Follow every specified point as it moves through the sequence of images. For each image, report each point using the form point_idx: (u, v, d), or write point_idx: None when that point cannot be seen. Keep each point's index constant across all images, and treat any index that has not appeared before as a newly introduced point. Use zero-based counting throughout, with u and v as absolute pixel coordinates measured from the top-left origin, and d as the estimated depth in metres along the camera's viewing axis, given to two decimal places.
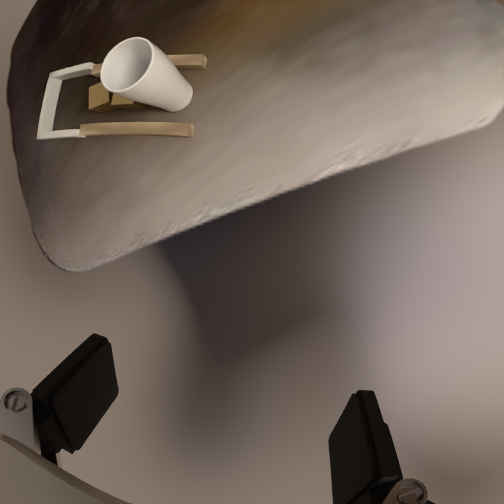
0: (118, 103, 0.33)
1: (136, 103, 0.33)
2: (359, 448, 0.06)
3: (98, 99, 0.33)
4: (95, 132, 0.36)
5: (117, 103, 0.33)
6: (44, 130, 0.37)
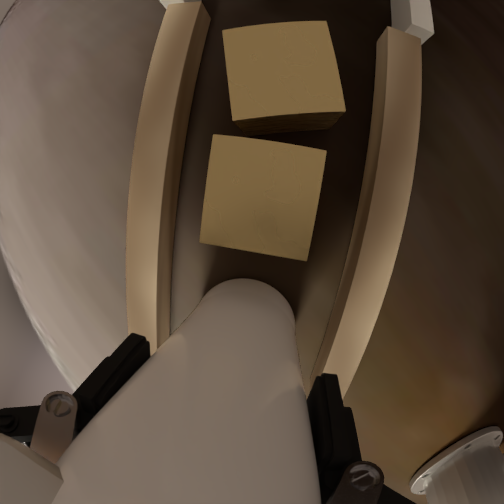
0: (211, 171, 0.10)
1: None
2: (317, 428, 0.07)
3: (255, 67, 0.08)
4: (155, 64, 0.10)
5: (212, 167, 0.10)
6: None
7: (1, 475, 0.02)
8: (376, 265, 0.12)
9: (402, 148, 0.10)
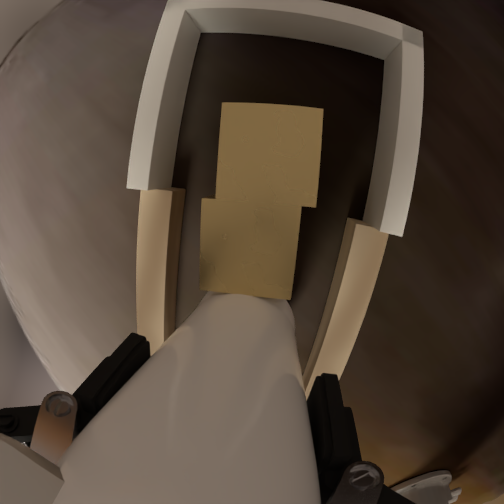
0: (204, 231, 0.12)
1: None
2: (317, 428, 0.07)
3: (244, 150, 0.10)
4: (141, 259, 0.14)
5: (204, 227, 0.11)
6: (197, 16, 0.10)
7: (1, 475, 0.02)
8: None
9: (342, 340, 0.14)
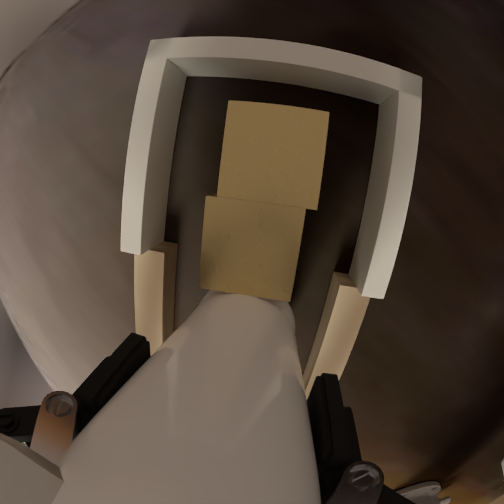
0: (206, 229, 0.11)
1: None
2: (317, 428, 0.07)
3: (248, 149, 0.10)
4: (139, 311, 0.15)
5: (207, 225, 0.11)
6: (180, 63, 0.11)
7: (1, 475, 0.02)
8: None
9: None
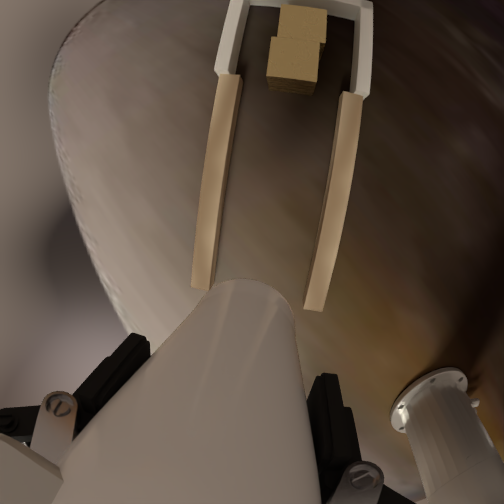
0: (271, 49, 0.18)
1: (269, 80, 0.20)
2: (317, 428, 0.07)
3: (291, 20, 0.17)
4: (215, 113, 0.22)
5: (271, 47, 0.18)
6: None
7: (1, 475, 0.02)
8: (333, 222, 0.23)
9: (346, 161, 0.22)
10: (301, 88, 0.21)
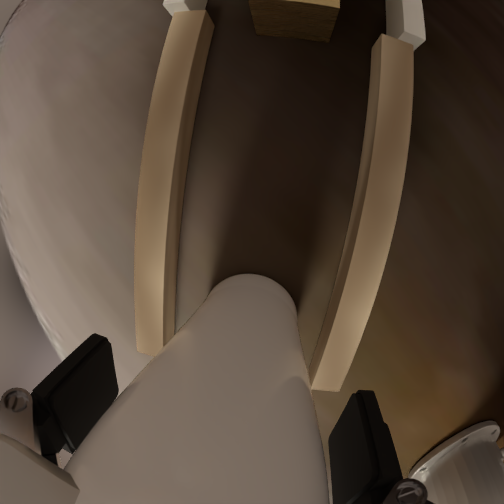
0: None
1: (255, 9, 0.09)
2: (359, 448, 0.06)
3: None
4: (162, 70, 0.11)
5: None
6: None
7: (1, 475, 0.02)
8: (370, 258, 0.13)
9: (394, 149, 0.11)
10: (311, 26, 0.10)
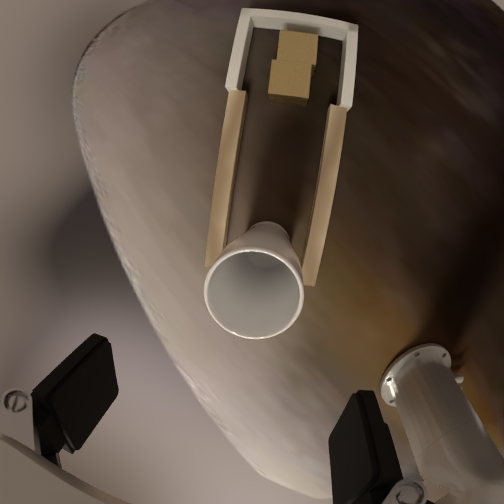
0: (272, 70, 0.24)
1: (270, 96, 0.25)
2: (359, 448, 0.06)
3: (288, 45, 0.23)
4: (226, 122, 0.27)
5: (272, 69, 0.24)
6: (255, 19, 0.23)
7: (1, 475, 0.02)
8: (322, 211, 0.29)
9: (332, 162, 0.27)
10: (296, 102, 0.26)
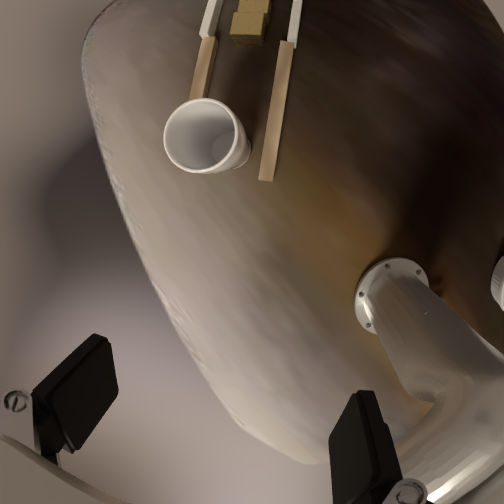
0: (233, 19, 0.27)
1: (232, 37, 0.29)
2: (359, 448, 0.06)
3: (247, 2, 0.26)
4: (199, 58, 0.31)
5: (233, 18, 0.27)
6: None
7: (1, 475, 0.02)
8: (275, 117, 0.32)
9: (282, 80, 0.31)
10: (254, 41, 0.30)
